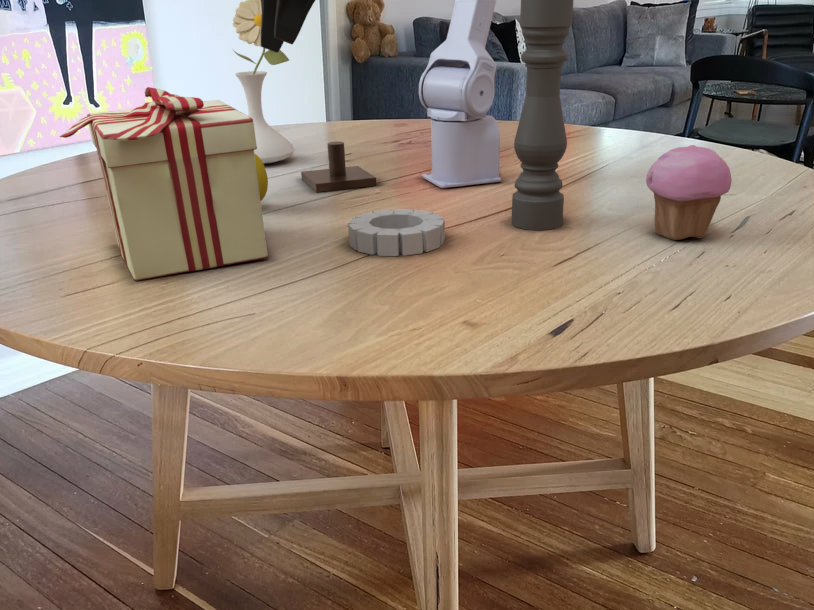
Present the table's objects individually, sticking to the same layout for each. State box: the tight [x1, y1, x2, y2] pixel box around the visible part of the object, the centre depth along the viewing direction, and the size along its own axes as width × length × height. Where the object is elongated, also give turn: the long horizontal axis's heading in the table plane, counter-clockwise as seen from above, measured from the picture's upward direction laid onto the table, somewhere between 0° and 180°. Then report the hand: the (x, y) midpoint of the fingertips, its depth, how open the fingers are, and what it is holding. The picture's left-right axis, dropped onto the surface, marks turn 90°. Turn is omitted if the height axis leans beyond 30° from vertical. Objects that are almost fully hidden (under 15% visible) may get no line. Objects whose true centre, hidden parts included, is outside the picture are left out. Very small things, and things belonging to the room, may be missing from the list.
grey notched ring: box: [347, 208, 446, 257], centre depth 94 cm, size 11×11×2 cm
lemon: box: [254, 154, 269, 202], centre depth 108 cm, size 6×6×8 cm
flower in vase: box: [232, 0, 295, 165], centre depth 131 cm, size 13×11×25 cm
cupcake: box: [645, 144, 732, 241], centre depth 91 cm, size 9×9×10 cm
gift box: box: [59, 86, 269, 282], centre depth 88 cm, size 17×18×17 cm
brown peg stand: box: [300, 141, 377, 193], centre depth 121 cm, size 9×9×6 cm
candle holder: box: [511, 0, 574, 231], centre depth 94 cm, size 6×6×25 cm
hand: (276, 45), depth 93 cm, fingers open, 7 cm apart
